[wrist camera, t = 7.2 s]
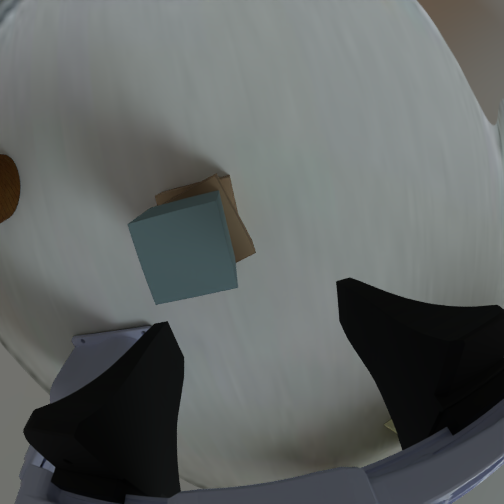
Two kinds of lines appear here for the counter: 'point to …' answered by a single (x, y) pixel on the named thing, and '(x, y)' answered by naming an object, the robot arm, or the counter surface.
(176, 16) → the counter surface
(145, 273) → the cube
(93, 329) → the counter surface
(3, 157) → the disposable coffee cup
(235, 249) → the top slab
